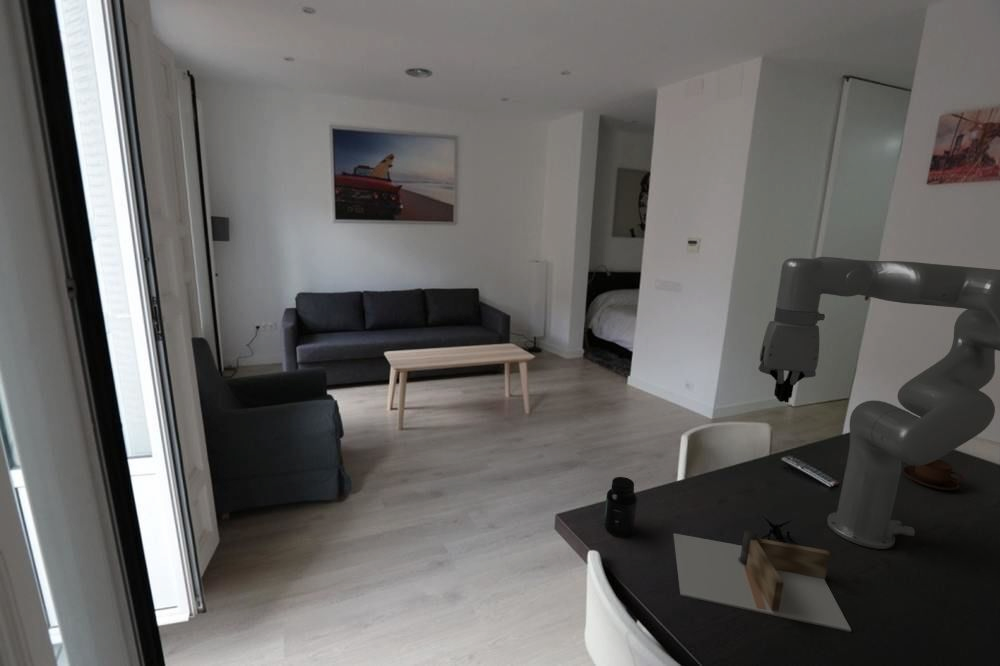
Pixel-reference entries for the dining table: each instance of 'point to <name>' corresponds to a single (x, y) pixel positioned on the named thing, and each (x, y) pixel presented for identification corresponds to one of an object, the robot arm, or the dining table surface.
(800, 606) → the card
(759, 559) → the gate panel
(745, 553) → the fence
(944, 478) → the cup and saucer
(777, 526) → the creature
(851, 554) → the dining table surface
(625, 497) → the supplement bottle
